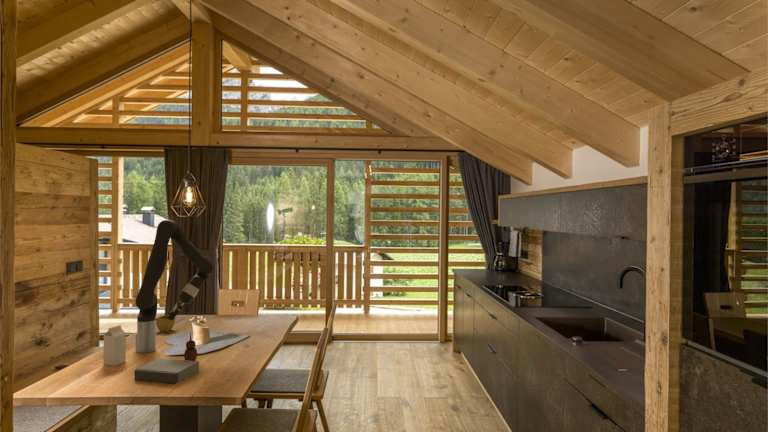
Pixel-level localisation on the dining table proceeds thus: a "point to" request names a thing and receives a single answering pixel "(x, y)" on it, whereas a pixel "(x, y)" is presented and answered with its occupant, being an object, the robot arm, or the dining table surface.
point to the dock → (166, 370)
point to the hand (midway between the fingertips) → (169, 319)
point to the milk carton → (115, 346)
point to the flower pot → (164, 323)
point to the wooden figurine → (190, 351)
